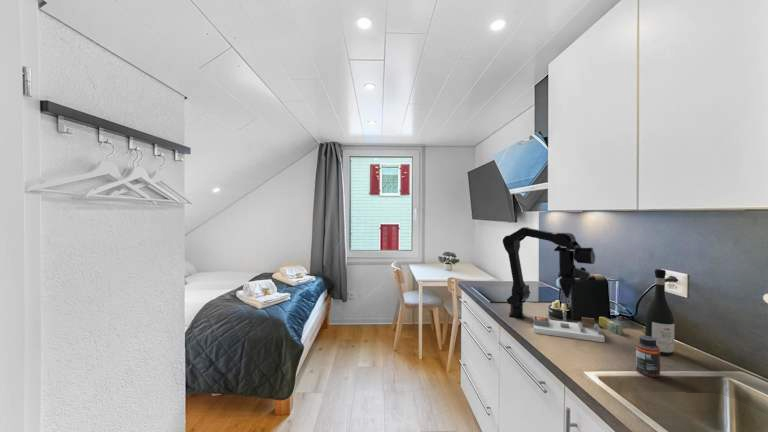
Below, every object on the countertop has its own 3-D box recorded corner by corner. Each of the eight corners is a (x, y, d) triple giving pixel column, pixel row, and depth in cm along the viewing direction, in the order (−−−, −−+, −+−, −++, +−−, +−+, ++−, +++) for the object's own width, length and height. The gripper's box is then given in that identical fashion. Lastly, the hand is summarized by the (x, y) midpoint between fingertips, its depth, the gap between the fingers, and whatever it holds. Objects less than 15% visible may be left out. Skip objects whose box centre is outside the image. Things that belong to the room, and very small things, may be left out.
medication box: (623, 335, 135) (623, 325, 135) (616, 335, 135) (617, 325, 135) (604, 325, 147) (604, 316, 147) (598, 324, 147) (598, 316, 147)
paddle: (581, 325, 139) (581, 317, 139) (594, 326, 138) (594, 318, 138) (582, 326, 138) (582, 317, 138) (594, 327, 137) (594, 319, 137)
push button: (536, 320, 145) (536, 316, 145) (546, 322, 144) (546, 317, 144) (536, 323, 142) (536, 319, 142) (546, 324, 140) (546, 320, 140)
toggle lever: (562, 320, 140) (561, 310, 142) (566, 321, 140) (566, 311, 141) (562, 320, 139) (562, 310, 140) (567, 321, 138) (566, 311, 139)
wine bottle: (679, 357, 114) (680, 272, 114) (653, 355, 116) (654, 271, 115) (664, 347, 122) (665, 268, 122) (640, 346, 123) (641, 267, 123)
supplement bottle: (651, 369, 106) (651, 334, 106) (665, 378, 100) (665, 341, 100) (631, 368, 107) (631, 333, 106) (644, 377, 101) (644, 341, 100)
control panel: (533, 322, 150) (533, 313, 150) (597, 330, 140) (597, 320, 140) (533, 332, 137) (534, 323, 137) (604, 342, 127) (604, 332, 127)
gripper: (591, 266, 130) (591, 304, 130) (585, 259, 147) (586, 294, 147) (559, 264, 135) (560, 302, 135) (557, 258, 152) (558, 292, 152)
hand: (567, 297), depth 142 cm, fingers closed
